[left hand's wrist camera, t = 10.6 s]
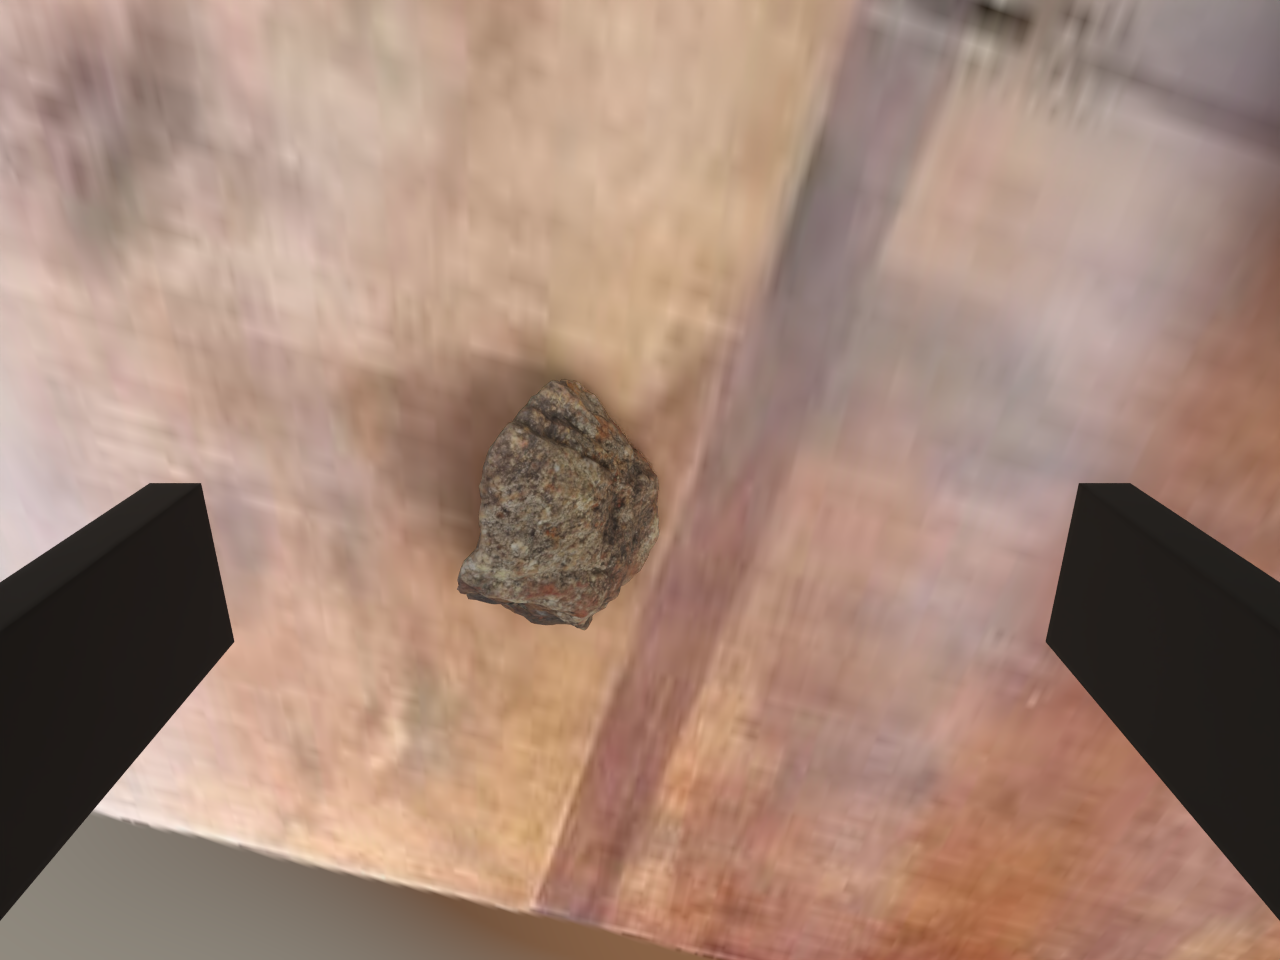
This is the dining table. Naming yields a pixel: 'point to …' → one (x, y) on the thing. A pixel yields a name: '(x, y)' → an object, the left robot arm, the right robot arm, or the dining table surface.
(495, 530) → the rock
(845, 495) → the dining table surface
